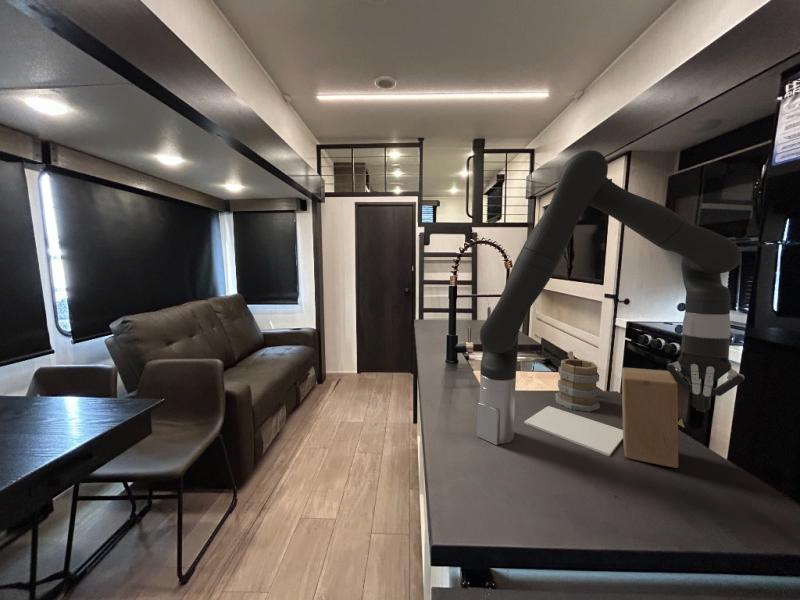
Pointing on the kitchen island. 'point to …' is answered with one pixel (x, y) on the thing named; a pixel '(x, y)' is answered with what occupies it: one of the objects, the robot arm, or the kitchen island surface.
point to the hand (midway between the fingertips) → (700, 410)
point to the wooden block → (650, 416)
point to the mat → (577, 429)
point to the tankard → (578, 384)
